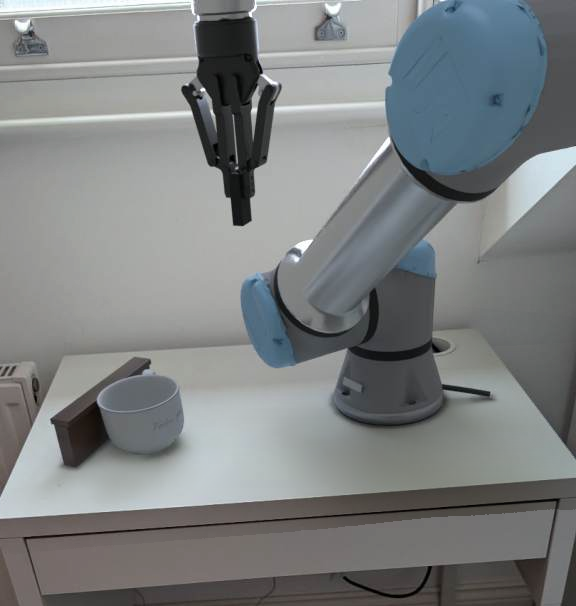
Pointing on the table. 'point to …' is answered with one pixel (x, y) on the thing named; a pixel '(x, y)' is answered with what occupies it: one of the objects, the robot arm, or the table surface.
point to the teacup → (142, 412)
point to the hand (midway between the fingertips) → (242, 223)
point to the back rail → (89, 417)
